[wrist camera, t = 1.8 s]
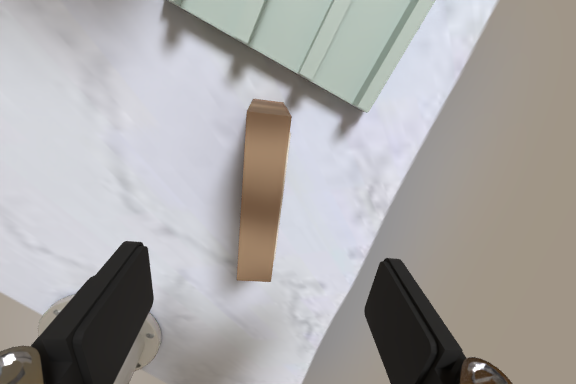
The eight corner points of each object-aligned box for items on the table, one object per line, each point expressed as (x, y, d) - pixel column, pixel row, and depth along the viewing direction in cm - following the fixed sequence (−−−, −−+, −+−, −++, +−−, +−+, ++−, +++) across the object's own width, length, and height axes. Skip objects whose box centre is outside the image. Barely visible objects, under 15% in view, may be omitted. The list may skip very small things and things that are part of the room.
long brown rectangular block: (271, 225, 27) (273, 282, 20) (244, 223, 27) (236, 280, 19) (285, 102, 22) (295, 116, 15) (253, 98, 22) (246, 111, 15)
